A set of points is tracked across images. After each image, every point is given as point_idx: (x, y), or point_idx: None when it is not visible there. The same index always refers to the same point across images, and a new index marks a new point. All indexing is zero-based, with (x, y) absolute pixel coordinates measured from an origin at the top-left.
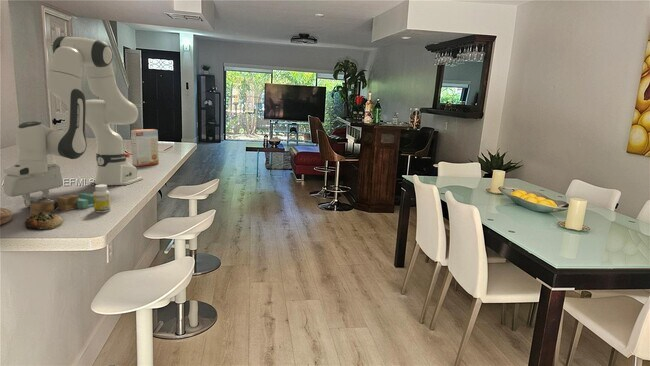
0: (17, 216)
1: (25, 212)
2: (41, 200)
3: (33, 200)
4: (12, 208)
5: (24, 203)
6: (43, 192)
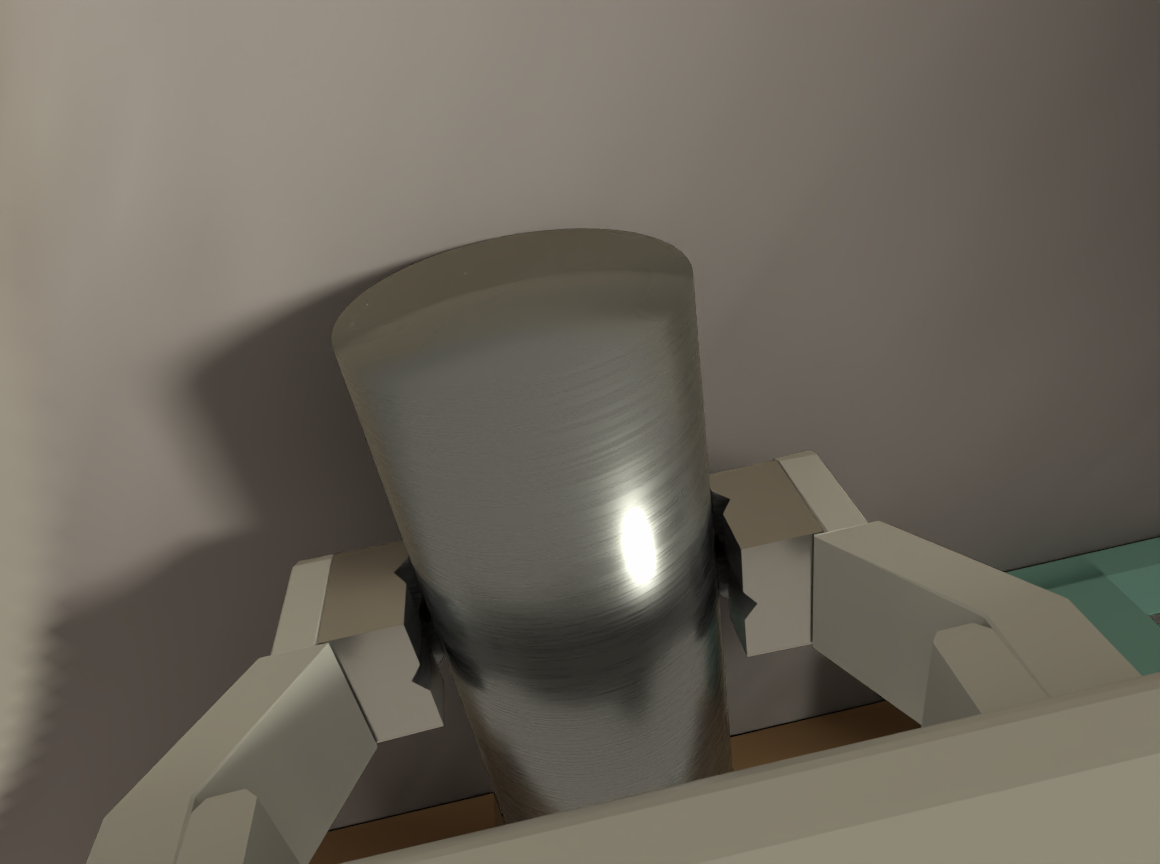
0: (16, 781)
1: (220, 643)
2: None
3: (471, 677)
4: (30, 118)
5: (343, 317)
6: (962, 632)
